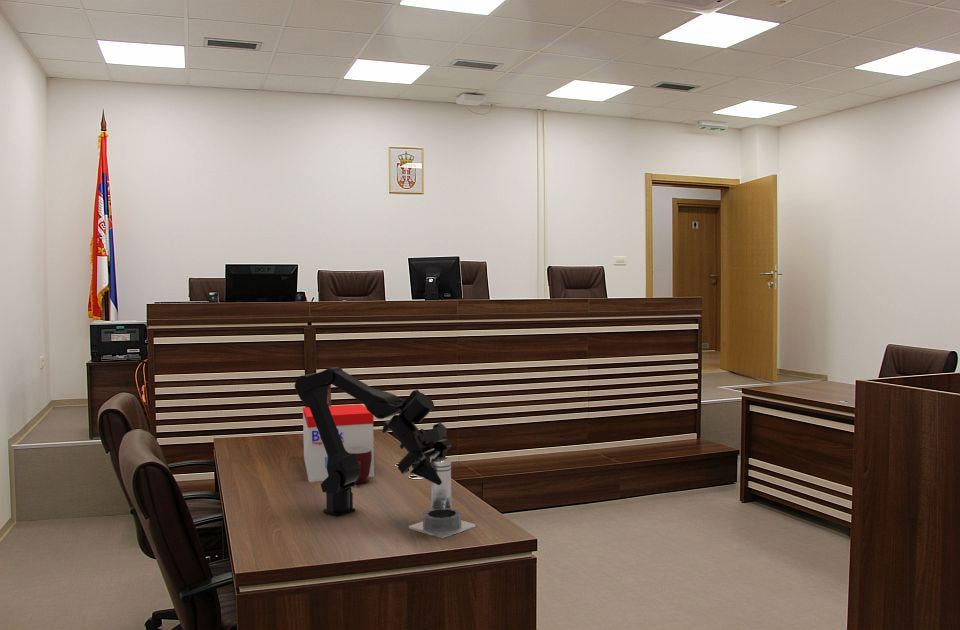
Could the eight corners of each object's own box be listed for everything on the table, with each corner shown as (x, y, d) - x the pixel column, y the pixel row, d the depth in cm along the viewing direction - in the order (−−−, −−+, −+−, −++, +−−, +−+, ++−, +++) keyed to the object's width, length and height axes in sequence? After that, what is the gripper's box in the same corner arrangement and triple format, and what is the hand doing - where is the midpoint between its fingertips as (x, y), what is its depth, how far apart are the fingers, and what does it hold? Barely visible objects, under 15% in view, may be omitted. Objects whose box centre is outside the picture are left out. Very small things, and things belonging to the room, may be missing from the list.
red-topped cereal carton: (308, 482, 236) (307, 416, 235) (303, 457, 270) (302, 400, 269) (374, 477, 242) (373, 413, 241) (361, 453, 276) (360, 397, 275)
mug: (374, 486, 230) (373, 454, 230) (347, 488, 228) (347, 456, 228) (370, 477, 241) (370, 447, 240) (345, 479, 239) (344, 448, 238)
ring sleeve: (441, 538, 183) (441, 524, 182) (408, 528, 191) (408, 514, 191) (475, 526, 191) (475, 512, 191) (442, 517, 200) (442, 503, 199)
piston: (436, 510, 188) (436, 463, 187) (428, 505, 192) (427, 458, 191) (454, 507, 190) (454, 460, 189) (446, 502, 194) (445, 456, 194)
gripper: (407, 420, 183) (447, 470, 179) (445, 408, 200) (482, 453, 196) (381, 449, 187) (419, 498, 183) (419, 435, 204) (455, 480, 199)
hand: (445, 481), depth 190 cm, fingers closed on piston, 5 cm apart
